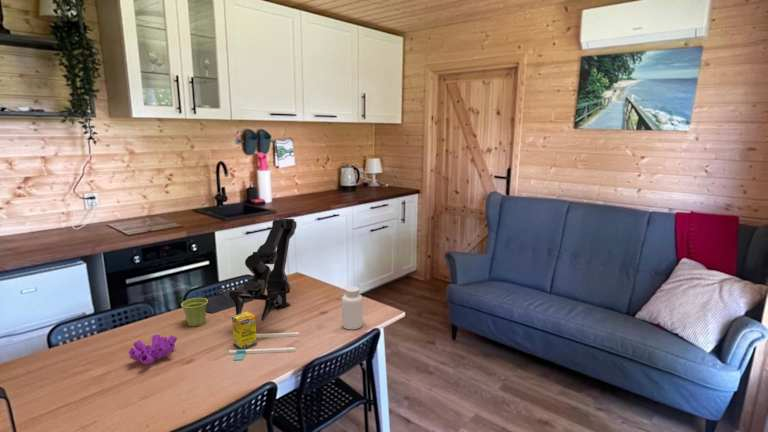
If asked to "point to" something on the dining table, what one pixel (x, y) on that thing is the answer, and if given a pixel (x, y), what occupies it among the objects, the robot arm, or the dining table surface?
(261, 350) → the channel
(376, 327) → the dining table surface
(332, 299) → the dining table surface
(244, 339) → the supplement box
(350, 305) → the pill bottle
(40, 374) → the dining table surface
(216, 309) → the dark slate chunk
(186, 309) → the plant pot
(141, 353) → the purple coral
